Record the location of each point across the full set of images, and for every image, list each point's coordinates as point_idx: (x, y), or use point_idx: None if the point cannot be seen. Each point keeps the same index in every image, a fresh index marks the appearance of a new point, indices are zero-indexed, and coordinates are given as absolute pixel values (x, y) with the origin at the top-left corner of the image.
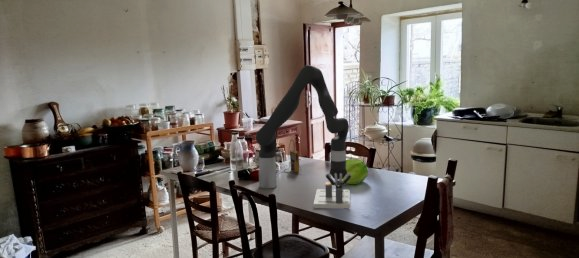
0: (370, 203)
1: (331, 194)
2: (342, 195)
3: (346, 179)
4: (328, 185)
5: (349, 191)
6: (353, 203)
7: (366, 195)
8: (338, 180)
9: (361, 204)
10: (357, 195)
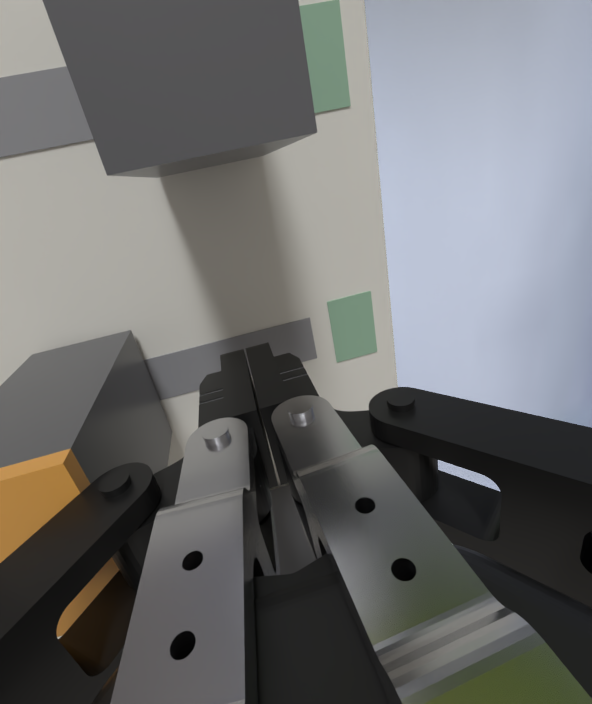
0: (571, 319)
1: (163, 455)
2: (289, 299)
3: (546, 573)
4: (78, 610)
5: (366, 52)
6: (415, 371)
7: (577, 21)
8: (167, 137)
9: (488, 372)
10: (457, 52)
